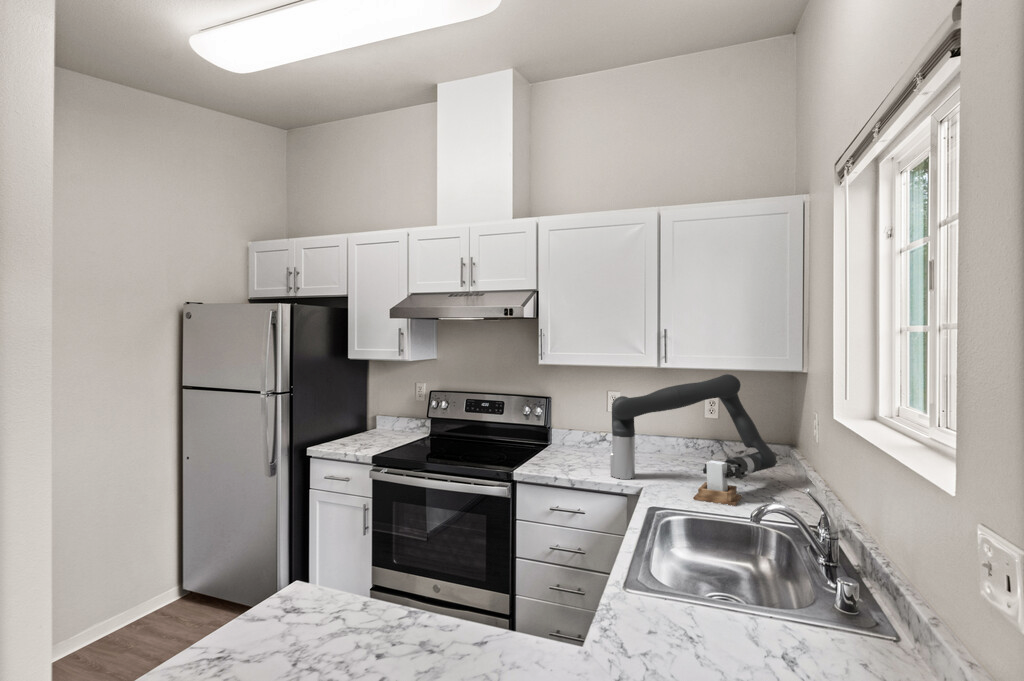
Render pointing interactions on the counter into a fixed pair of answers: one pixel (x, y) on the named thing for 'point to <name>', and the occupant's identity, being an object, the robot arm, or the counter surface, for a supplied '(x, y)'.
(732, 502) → the walnut well board
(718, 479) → the skincare box
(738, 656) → the counter surface
